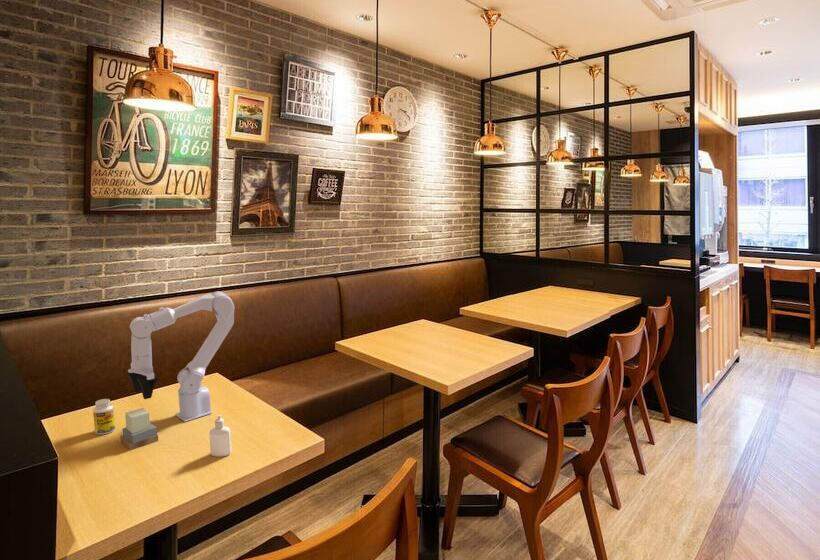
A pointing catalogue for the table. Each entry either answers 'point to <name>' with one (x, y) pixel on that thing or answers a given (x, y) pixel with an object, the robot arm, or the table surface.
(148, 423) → the sage cube
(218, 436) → the eye dropper bottle
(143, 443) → the walnut base slab
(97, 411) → the supplement bottle
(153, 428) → the slate gray middle block
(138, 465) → the table surface
